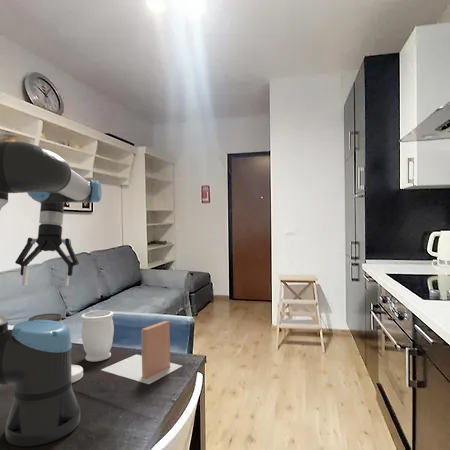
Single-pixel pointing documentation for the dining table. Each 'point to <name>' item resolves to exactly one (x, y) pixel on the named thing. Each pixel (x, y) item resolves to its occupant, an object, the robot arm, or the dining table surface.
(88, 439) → the dining table surface
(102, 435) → the dining table surface
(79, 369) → the white bowl
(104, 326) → the jar
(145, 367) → the tile
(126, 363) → the mat
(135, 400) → the dining table surface
